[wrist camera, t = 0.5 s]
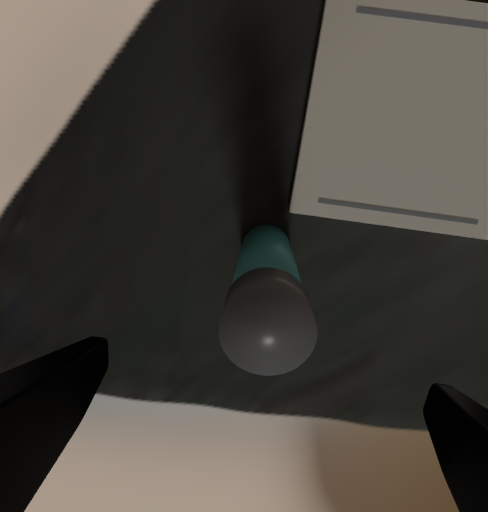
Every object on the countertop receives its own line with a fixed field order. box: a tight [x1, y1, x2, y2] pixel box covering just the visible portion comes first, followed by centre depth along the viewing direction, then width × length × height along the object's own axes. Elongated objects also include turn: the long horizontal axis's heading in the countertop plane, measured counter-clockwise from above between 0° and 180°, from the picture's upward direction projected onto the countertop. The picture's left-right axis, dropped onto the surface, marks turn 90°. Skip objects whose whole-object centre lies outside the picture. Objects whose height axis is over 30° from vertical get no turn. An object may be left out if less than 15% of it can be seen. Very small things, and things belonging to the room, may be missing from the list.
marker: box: [219, 224, 317, 376], centre depth 15 cm, size 3×3×10 cm
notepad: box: [289, 0, 488, 240], centre depth 17 cm, size 12×11×1 cm
